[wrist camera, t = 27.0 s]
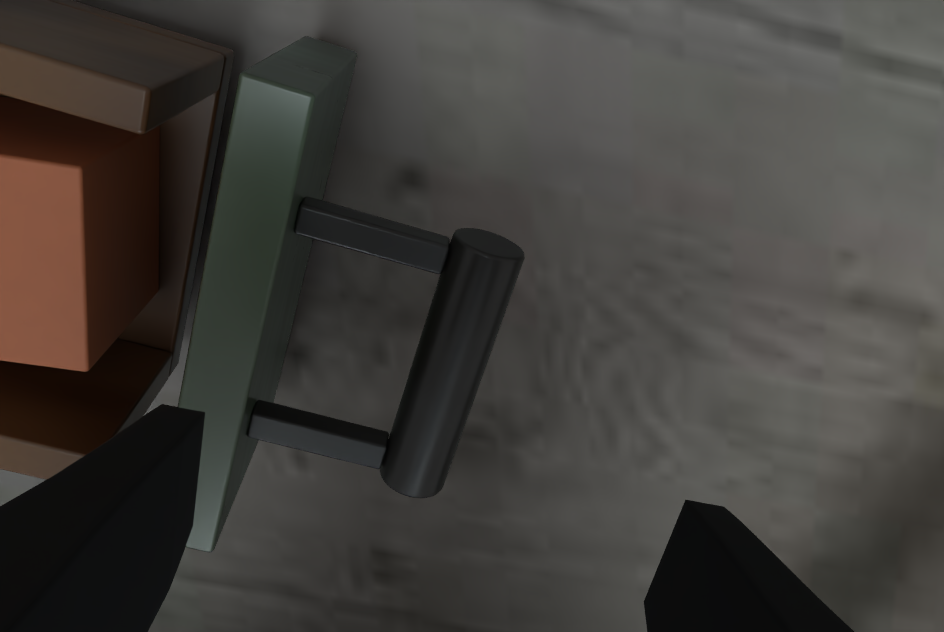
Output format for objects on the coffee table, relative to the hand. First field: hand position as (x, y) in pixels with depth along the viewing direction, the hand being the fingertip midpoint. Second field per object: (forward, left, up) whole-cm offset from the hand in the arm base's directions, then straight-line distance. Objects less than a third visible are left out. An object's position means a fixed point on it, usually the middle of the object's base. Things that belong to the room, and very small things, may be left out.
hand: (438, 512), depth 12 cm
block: (+8, +4, -8) cm, 12 cm away
